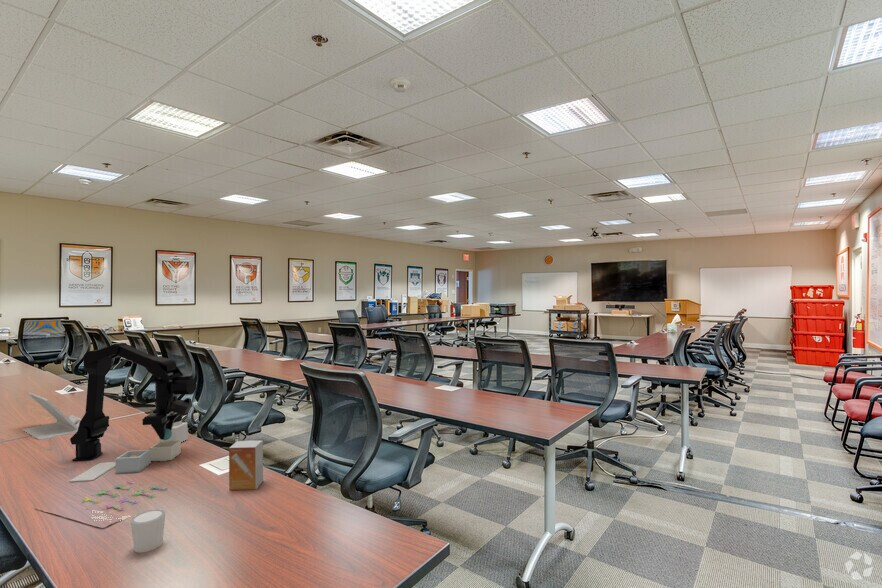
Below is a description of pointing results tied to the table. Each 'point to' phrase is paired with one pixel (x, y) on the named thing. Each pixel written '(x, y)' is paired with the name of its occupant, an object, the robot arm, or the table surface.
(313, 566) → the table surface
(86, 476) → the mat
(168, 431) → the teal ball
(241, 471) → the small box
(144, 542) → the white oval container
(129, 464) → the grey open box
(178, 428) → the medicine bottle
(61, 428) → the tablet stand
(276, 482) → the table surface
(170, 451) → the open cream box
